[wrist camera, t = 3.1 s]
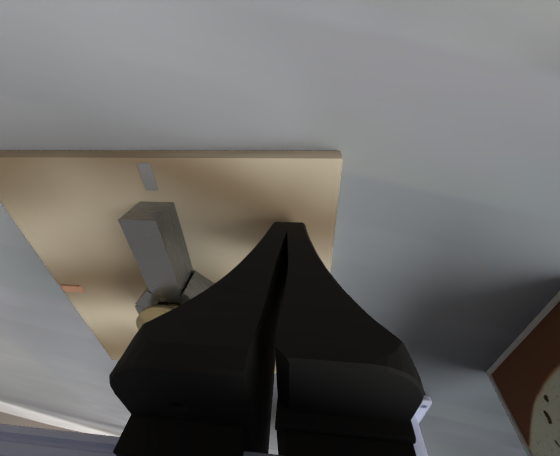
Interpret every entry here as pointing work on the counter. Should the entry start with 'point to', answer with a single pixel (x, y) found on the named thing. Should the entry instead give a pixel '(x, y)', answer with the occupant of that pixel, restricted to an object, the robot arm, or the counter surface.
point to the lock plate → (159, 188)
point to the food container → (533, 382)
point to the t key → (161, 254)
